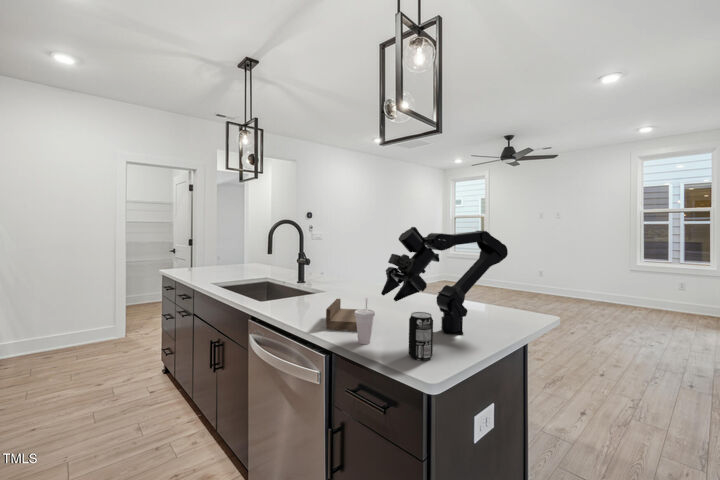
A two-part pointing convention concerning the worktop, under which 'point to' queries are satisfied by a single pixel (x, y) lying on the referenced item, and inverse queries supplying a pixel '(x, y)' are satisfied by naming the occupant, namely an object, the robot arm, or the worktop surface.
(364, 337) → the smoothie
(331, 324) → the wooden l-shaped block
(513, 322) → the worktop surface
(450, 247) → the robot arm
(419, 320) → the beverage can
